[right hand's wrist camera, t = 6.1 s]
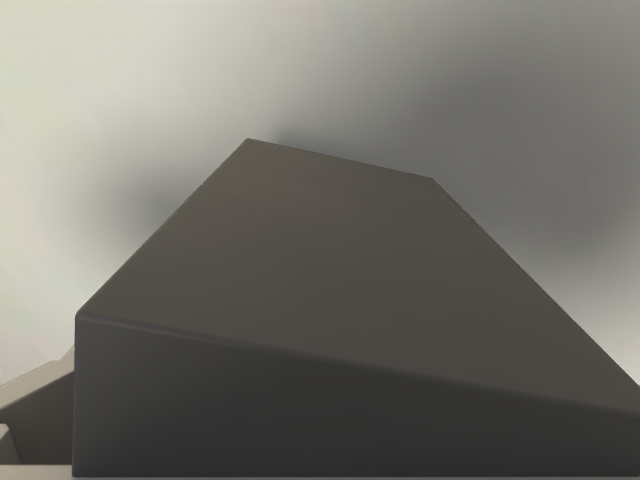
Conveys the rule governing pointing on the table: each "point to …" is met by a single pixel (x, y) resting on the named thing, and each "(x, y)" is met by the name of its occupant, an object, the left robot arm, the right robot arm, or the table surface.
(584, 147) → the table surface
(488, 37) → the table surface
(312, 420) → the box
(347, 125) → the table surface
